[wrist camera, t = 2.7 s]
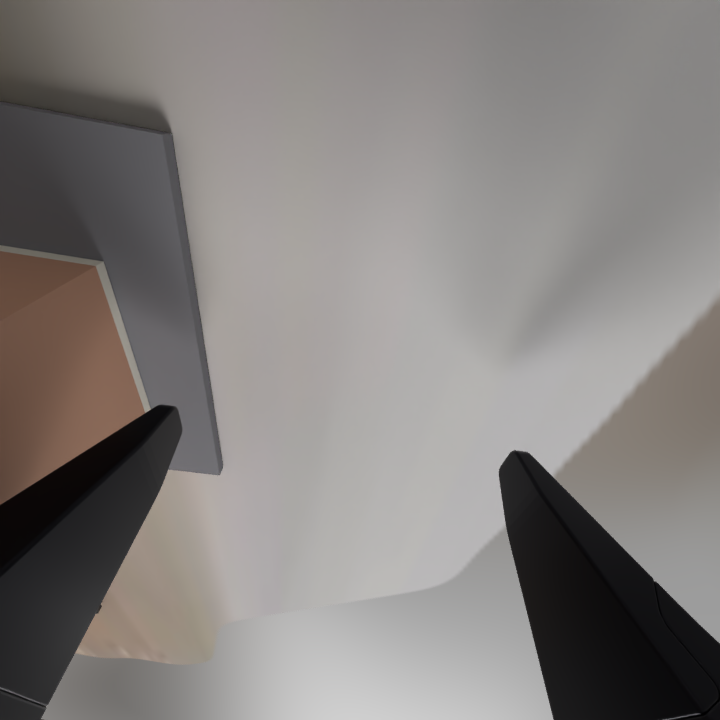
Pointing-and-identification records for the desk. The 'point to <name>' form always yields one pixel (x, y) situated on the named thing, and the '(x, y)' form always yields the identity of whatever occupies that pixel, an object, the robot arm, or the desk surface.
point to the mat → (117, 246)
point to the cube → (59, 364)
